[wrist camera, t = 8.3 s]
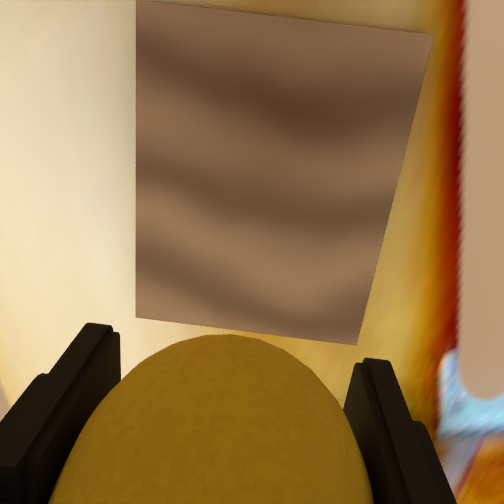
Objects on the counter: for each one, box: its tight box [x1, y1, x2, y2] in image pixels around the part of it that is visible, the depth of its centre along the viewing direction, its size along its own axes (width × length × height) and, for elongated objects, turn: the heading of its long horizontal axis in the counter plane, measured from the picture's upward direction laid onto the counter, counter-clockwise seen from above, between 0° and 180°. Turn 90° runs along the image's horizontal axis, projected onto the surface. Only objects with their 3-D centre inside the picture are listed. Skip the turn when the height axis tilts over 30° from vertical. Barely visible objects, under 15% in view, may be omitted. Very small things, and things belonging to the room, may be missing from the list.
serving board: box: [136, 0, 434, 345], centre depth 27 cm, size 20×16×2 cm
